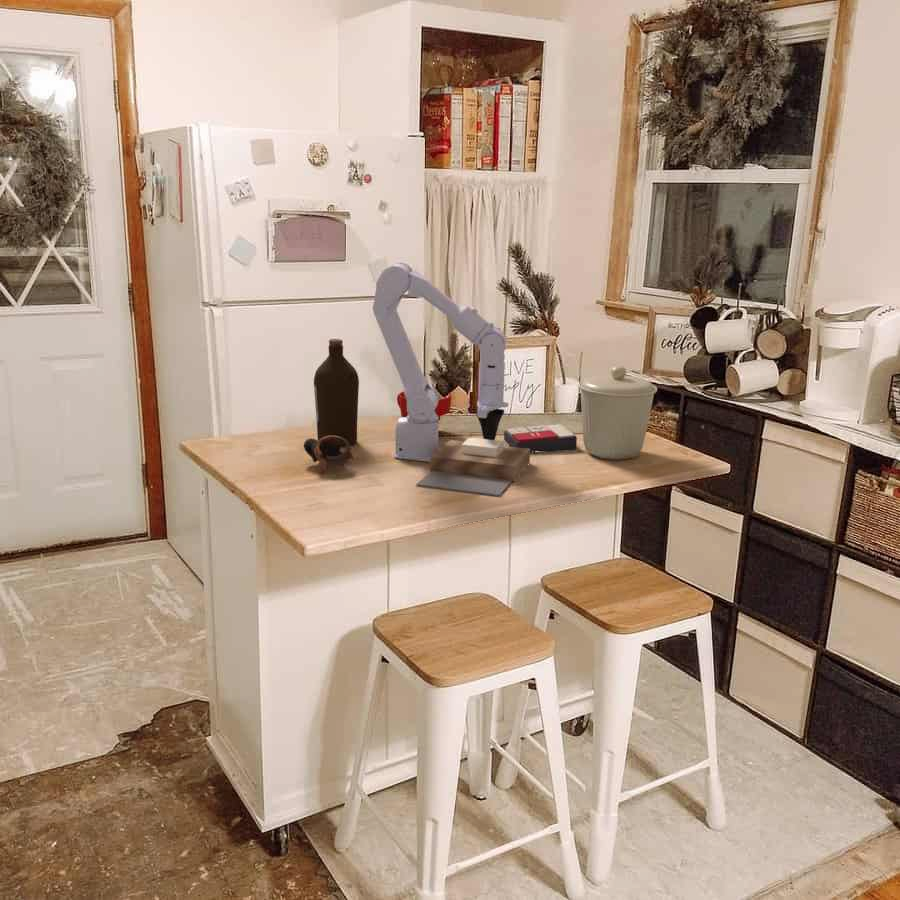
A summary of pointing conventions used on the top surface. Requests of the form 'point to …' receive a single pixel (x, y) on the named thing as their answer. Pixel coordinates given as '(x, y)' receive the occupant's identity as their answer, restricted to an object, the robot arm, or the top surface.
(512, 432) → the calculator
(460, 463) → the block
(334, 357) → the olive oil
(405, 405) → the ceramic cup
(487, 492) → the mat
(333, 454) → the pottery mug
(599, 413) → the canister
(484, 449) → the tile
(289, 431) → the top surface
